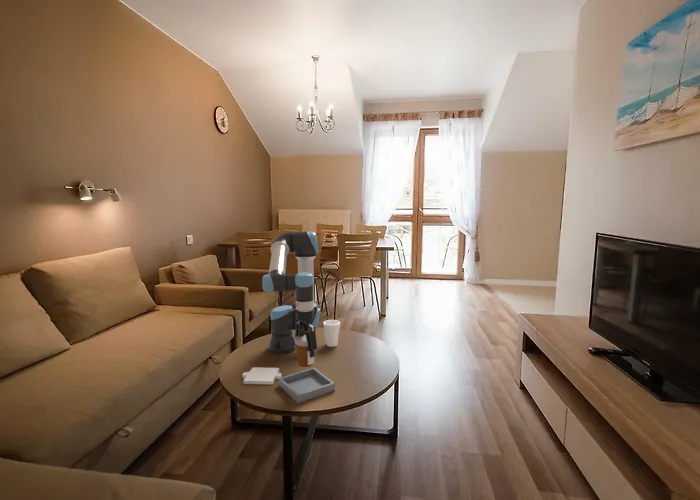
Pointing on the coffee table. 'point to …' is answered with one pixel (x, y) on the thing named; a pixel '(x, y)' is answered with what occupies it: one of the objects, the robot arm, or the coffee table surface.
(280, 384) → the slate tray
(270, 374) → the mounting plate
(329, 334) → the foam cup
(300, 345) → the disposable coffee cup
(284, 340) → the robot arm
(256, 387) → the coffee table surface
